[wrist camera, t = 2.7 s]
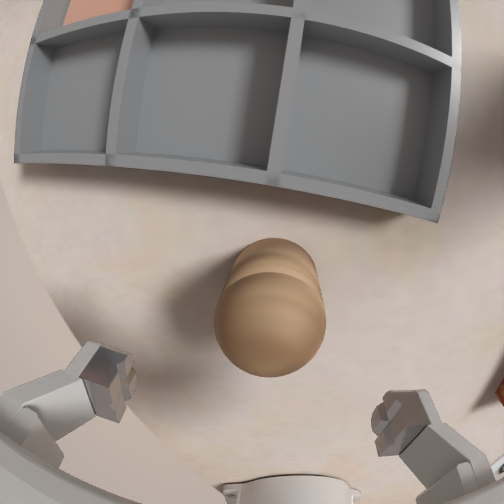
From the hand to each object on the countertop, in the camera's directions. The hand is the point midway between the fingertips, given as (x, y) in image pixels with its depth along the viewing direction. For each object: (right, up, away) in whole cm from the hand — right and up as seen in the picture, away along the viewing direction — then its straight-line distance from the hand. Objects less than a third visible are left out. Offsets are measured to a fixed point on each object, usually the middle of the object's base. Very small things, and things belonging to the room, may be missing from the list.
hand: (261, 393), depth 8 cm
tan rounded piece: (+1, +3, +9) cm, 9 cm away
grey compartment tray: (-2, +16, +4) cm, 17 cm away
